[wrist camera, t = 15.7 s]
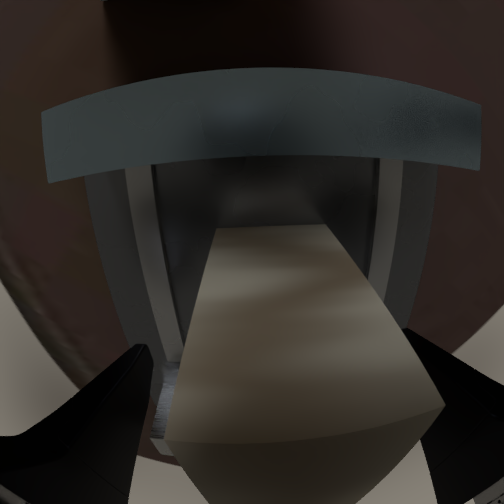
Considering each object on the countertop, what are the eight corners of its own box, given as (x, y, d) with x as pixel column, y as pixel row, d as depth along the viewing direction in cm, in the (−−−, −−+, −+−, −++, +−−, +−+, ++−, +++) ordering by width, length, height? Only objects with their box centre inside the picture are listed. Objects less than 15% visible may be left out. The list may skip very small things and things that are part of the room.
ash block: (325, 224, 10) (445, 405, 3) (312, 360, 13) (345, 511, 6) (216, 228, 10) (163, 439, 3) (231, 365, 13) (224, 522, 6)
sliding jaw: (426, 105, 8) (480, 104, 5) (425, 155, 9) (479, 170, 6) (94, 112, 8) (41, 112, 5) (99, 165, 9) (48, 183, 6)
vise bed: (425, 95, 9) (498, 92, 5) (376, 380, 16) (398, 435, 12) (90, 103, 9) (18, 100, 5) (158, 393, 16) (144, 451, 12)
